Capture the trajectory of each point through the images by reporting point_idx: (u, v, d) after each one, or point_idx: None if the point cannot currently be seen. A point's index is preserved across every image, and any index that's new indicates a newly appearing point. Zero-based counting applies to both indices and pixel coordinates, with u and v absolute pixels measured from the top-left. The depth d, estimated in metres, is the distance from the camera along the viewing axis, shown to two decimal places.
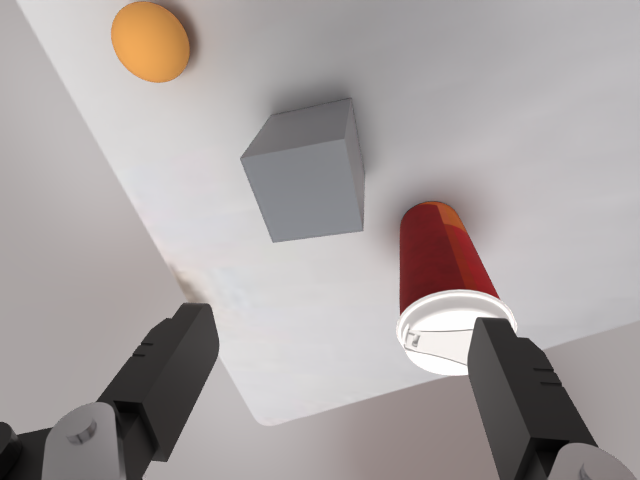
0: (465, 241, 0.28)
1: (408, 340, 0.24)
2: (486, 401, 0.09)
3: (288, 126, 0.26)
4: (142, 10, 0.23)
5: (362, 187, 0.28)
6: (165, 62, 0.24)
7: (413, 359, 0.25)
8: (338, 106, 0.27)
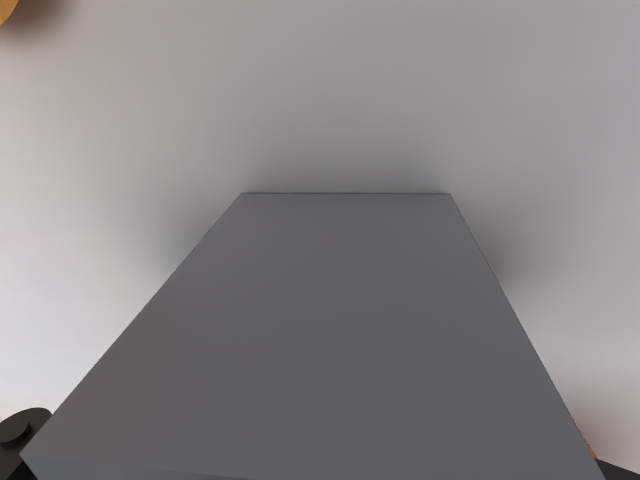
0: None
1: None
2: None
3: (285, 258, 0.08)
4: None
5: None
6: None
7: None
8: (428, 215, 0.10)
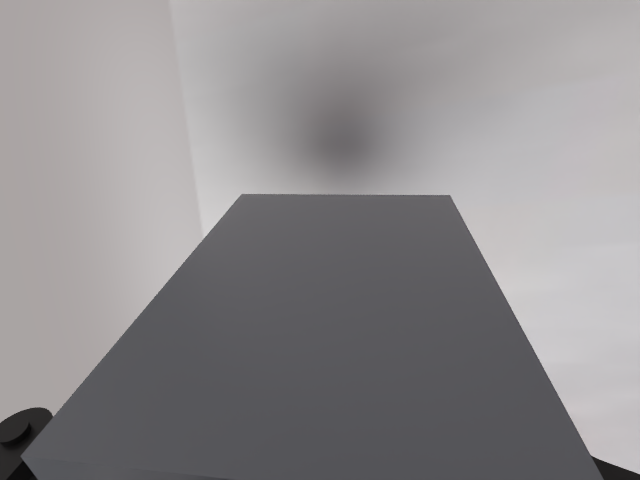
0: None
1: None
2: None
3: (285, 260, 0.08)
4: None
5: None
6: None
7: None
8: (428, 217, 0.10)
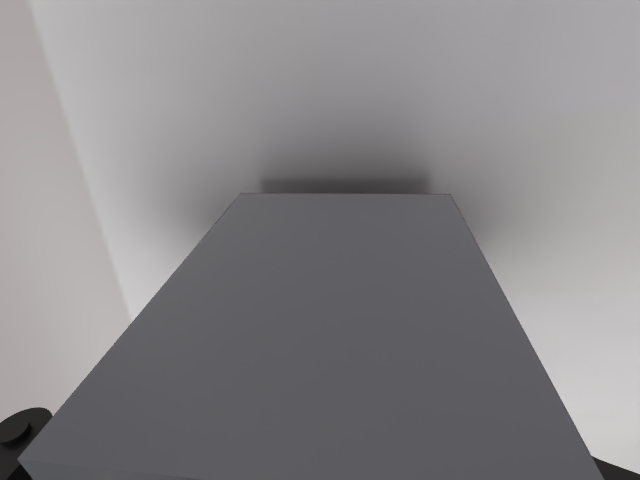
0: None
1: None
2: None
3: (284, 259, 0.08)
4: None
5: None
6: None
7: None
8: (428, 216, 0.10)
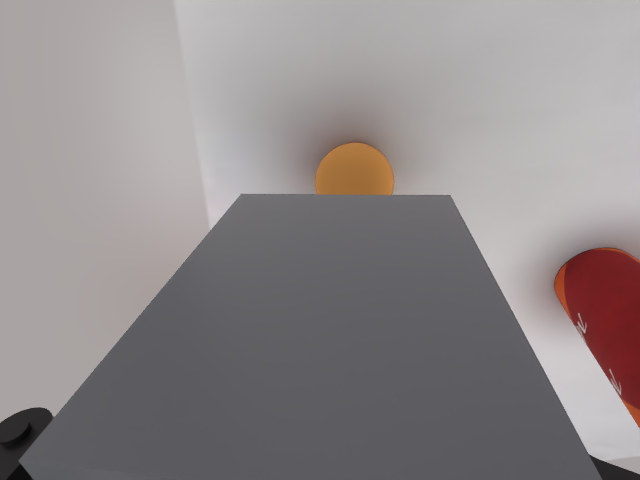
0: None
1: None
2: None
3: (284, 261, 0.08)
4: None
5: None
6: (376, 161, 0.21)
7: None
8: (428, 217, 0.10)
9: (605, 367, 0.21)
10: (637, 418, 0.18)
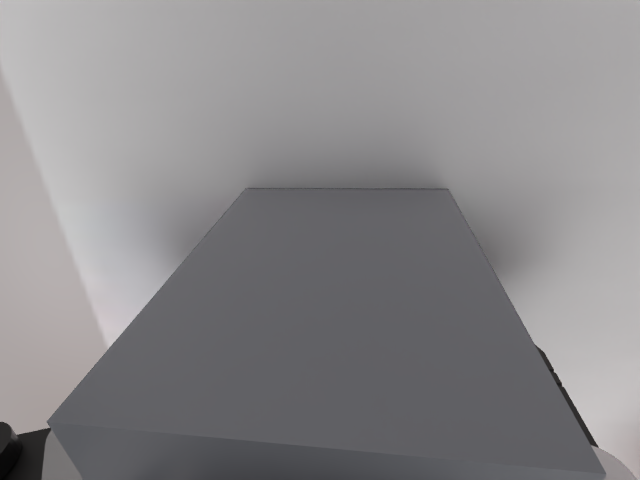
0: None
1: None
2: None
3: (289, 248, 0.09)
4: None
5: None
6: None
7: None
8: (427, 209, 0.10)
9: None
10: None
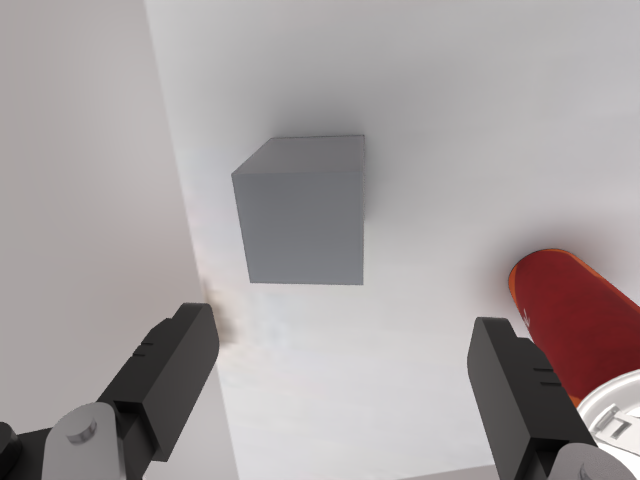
0: (631, 301, 0.22)
1: (609, 428, 0.17)
2: (486, 401, 0.09)
3: (292, 150, 0.22)
4: None
5: None
6: None
7: None
8: (350, 140, 0.24)
9: None
10: None
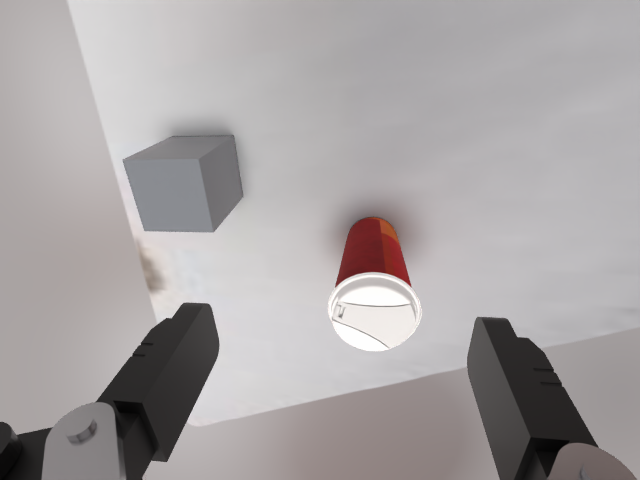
0: (395, 247, 0.34)
1: (335, 311, 0.29)
2: (486, 401, 0.09)
3: (174, 145, 0.34)
4: None
5: (229, 203, 0.36)
6: None
7: (337, 330, 0.30)
8: (219, 139, 0.36)
9: None
10: None
